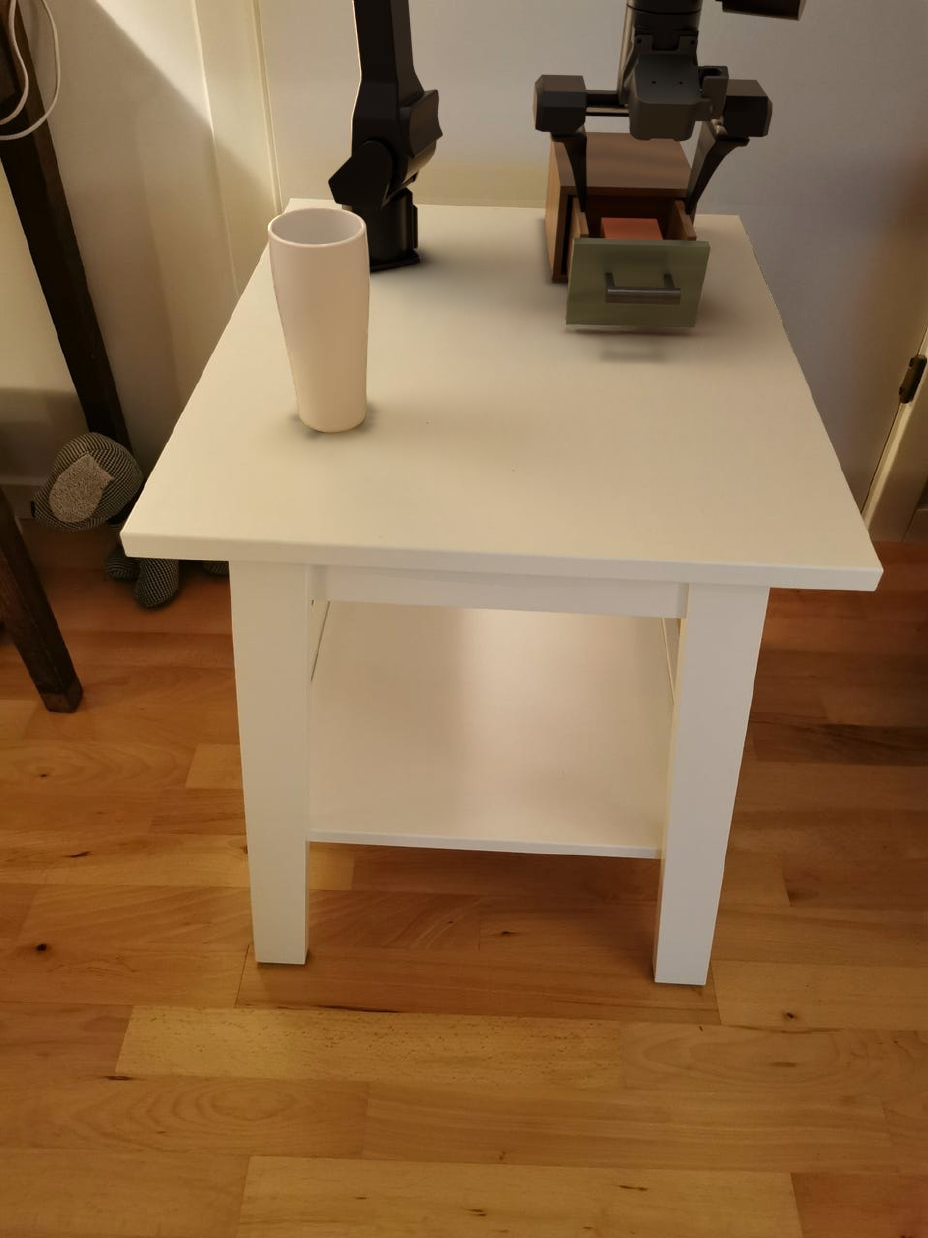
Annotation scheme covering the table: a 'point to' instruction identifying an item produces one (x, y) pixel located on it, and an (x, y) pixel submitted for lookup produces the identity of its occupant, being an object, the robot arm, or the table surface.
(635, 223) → the block
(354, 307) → the drinking glass
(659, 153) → the cabinet
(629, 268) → the drawer
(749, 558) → the table surface
